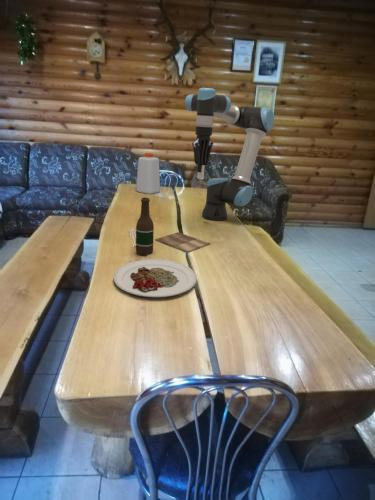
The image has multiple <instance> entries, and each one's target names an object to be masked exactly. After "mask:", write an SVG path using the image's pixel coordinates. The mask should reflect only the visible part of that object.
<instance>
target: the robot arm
mask: <svg viewBox="0 0 375 500" xmlns="http://www.w3.org/2000/svg"><path fill="white" fill-rule="evenodd" d="M197 93H198V94H196V93H193V94H188V95H187V96H186V97H185V99H184V106H185V109H186V111H188V112H192V113H193V112H196V120H195V122H196V124H195V125H196V126H195V132H194V133H195V135H196V138H195V141H192V148H193V159H194V164H195V165H197V170H196V171H197V178H196V179H197V180H204V179H205V170H206V169H205V168H206V166H207V165H208V164H209V163H210V157H211V152H212V148H213V145H214V142H213V141H211V136H212V135H213V129H214V128H213V127H212V126H214V118H217V119H220V120H222V121H225V122H226V123H227V124H229V125H231V126H235V127H238V128H240V129H244V131H245V132H246V137H245V139H244V143H243V147H242V150H241V152H240V157H239V161H238V163H237V167H236V170H235V173H234V176H233V177H231V178H230V181H229V178H228V177H227V178H226V177H215V178H209V179H208V180H207V185H206V196H205V197H206V200H205V204H204V207H203V210H202V212H201V217H202V218H203V219H205V220H209V221H219V222H220V221H225V220H227V219H228V211H227V206H226V203H227V204H230V205H234V206H237V207H238V206H239V207H244V206H246V205H247V204H249V203H250V202H251V200H252V197H253V194H254V192H253V190H254V189H253V187H252V183H251V177H252V173H253V170H254V167H255V164H256V163H255V162H256V160H257V156H258V153H259V150H260V148H261V147H260V146H261V144H262V143H261V142H262V139H263V138H264V137H266V135H267V132H271V130H272V129H273V127H274V124H275V114H274V112H273V110H272V109H271V108H270V107H265V106H237V105H232V101H231V98H230V97H229V96H226V95H224V94H222V95H221V94H216V89H215V88H211V87H200V88H199V89H198V92H197Z"/></svg>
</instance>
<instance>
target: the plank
mask: <svg viewBox="0 0 375 500" xmlns="http://www.w3.org/2000/svg"><path fill="white" fill-rule="evenodd" d="M210 245H211V242H209V241H206V240H202V239H199V238H196V239H195V240H192V241H189V242H186V243H183V244H180V245H177V246H174V248H173V249H176V250H179V251H181V252H184V253H186V254H189V253H192V252H194V251H198V250H200V249H203V248H205V247H207V246H210Z"/></svg>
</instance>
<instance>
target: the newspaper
mask: <svg viewBox="0 0 375 500" xmlns="http://www.w3.org/2000/svg"><path fill="white" fill-rule="evenodd" d="M128 235H129V237H130V240H131V243H132V248H136V228H130V229H128Z"/></svg>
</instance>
